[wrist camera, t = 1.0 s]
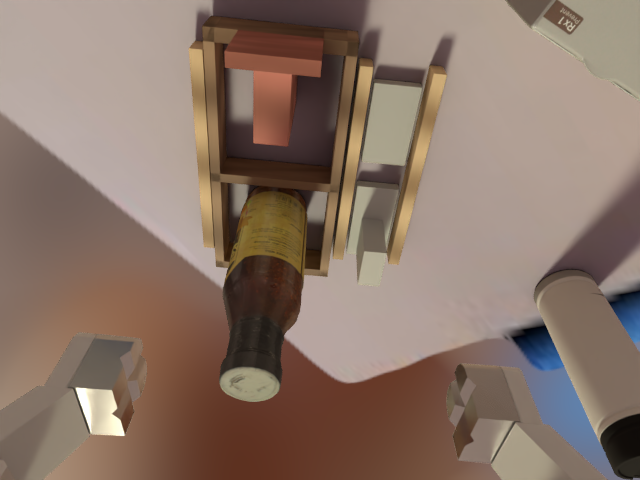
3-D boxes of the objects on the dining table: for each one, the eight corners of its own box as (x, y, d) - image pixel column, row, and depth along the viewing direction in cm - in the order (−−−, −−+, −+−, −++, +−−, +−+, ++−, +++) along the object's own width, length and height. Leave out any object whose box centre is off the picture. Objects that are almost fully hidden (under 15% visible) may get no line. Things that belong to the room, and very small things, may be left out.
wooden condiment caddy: (211, 15, 35) (183, 46, 29) (357, 31, 36) (362, 65, 29) (222, 247, 49) (204, 303, 43) (327, 257, 49) (326, 313, 43)
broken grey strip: (373, 78, 38) (378, 107, 33) (420, 83, 38) (432, 113, 33) (346, 247, 49) (347, 287, 44) (382, 250, 49) (387, 291, 44)
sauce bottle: (235, 186, 45) (179, 356, 29) (299, 173, 44) (277, 342, 28) (257, 240, 48) (218, 415, 33) (316, 229, 47) (305, 405, 32)
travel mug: (601, 264, 49) (726, 449, 33) (585, 308, 53) (690, 493, 37) (539, 267, 50) (633, 451, 34) (528, 311, 54) (607, 494, 38)
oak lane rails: (195, 40, 37) (188, 48, 35) (442, 66, 37) (446, 75, 36) (208, 234, 48) (204, 247, 47) (396, 251, 49) (398, 264, 47)
